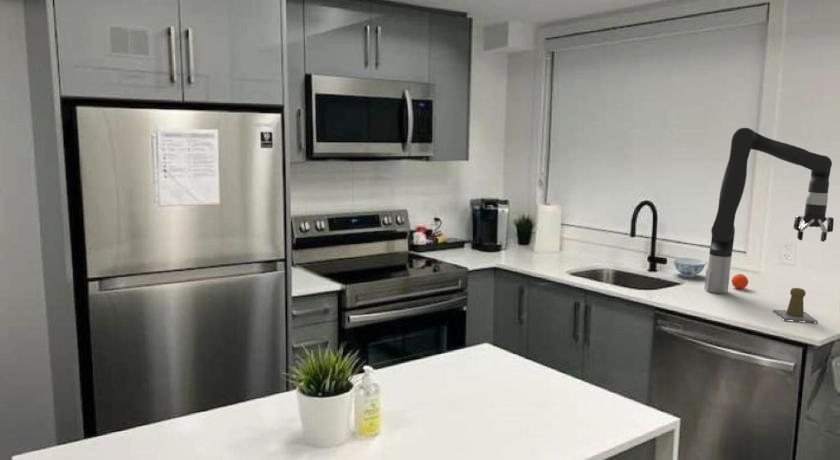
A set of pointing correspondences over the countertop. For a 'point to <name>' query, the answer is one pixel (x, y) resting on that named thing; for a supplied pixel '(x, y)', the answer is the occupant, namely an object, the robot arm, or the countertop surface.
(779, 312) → the trivet
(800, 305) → the cork
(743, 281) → the clementine
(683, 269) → the chinaware
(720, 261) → the robot arm
